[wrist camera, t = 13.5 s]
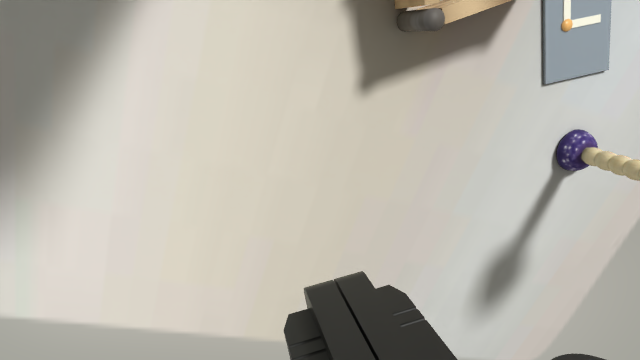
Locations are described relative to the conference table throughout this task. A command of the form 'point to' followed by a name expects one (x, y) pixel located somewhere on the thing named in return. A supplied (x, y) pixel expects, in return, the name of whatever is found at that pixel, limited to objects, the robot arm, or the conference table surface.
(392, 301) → the robot arm
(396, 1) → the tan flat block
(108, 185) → the conference table surface
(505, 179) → the conference table surface
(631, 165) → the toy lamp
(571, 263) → the conference table surface
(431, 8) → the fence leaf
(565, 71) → the card
